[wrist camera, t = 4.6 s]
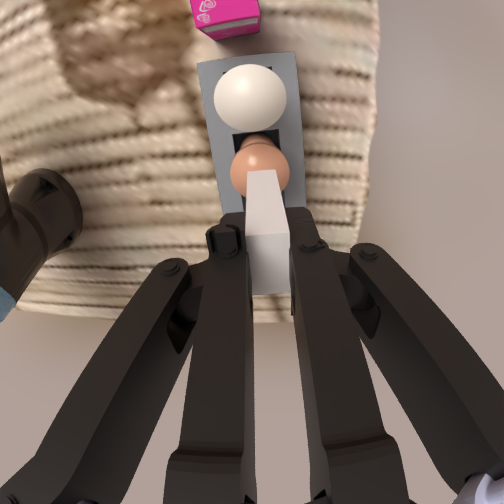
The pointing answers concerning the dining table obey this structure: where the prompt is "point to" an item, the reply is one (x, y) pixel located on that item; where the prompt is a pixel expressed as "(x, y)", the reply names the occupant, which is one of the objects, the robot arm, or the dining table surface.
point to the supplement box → (226, 17)
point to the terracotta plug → (258, 161)
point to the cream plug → (250, 98)
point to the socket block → (282, 131)
